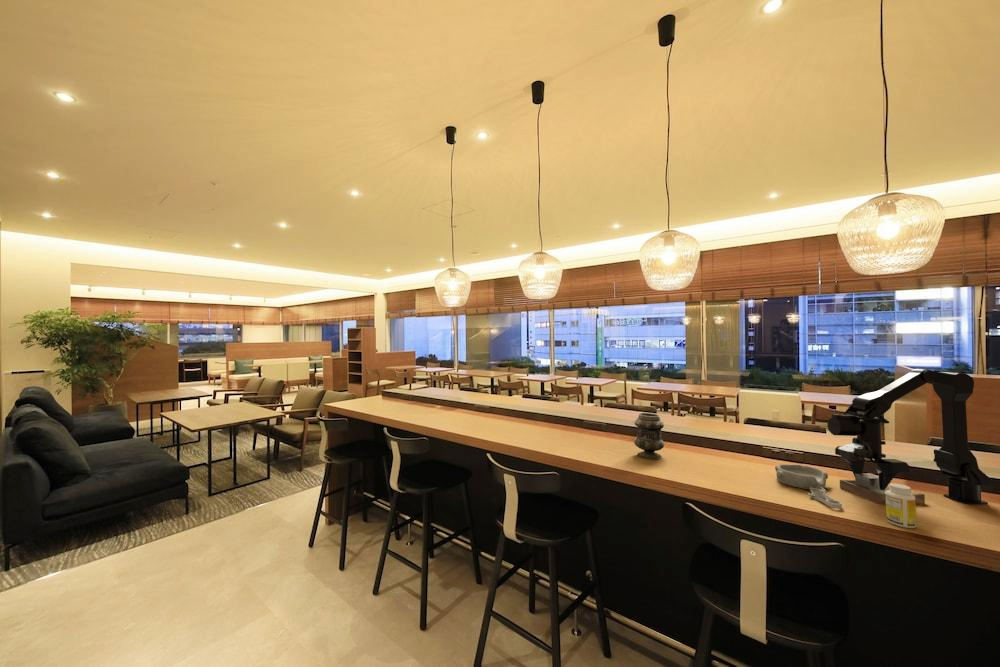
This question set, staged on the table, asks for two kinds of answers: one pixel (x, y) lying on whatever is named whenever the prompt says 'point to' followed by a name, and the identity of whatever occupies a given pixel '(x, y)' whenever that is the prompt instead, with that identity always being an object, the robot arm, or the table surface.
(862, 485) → the clip
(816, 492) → the bracket
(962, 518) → the table surface
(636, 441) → the apothecary jar
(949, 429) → the robot arm
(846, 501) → the table surface
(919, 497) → the brown square tray
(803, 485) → the dish
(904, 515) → the supplement bottle
